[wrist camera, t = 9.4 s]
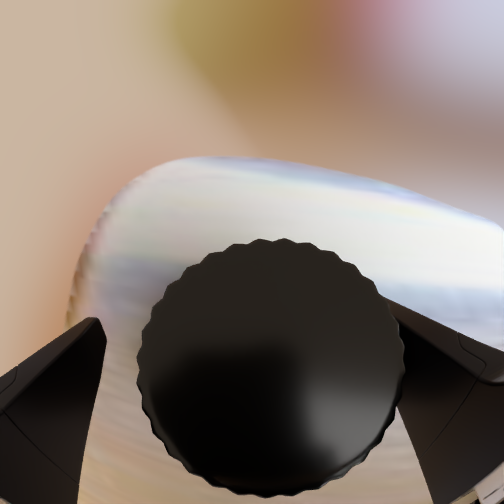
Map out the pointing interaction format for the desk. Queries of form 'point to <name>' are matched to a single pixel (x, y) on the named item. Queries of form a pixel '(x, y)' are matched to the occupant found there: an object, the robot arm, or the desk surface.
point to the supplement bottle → (271, 368)
